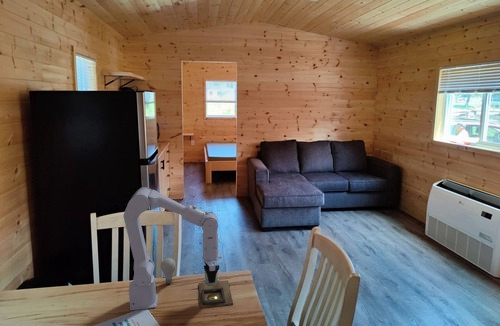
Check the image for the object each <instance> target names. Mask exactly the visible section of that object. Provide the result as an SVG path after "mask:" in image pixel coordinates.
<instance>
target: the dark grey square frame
mask: <svg viewBox="0 0 500 326" xmlns="http://www.w3.org/2000/svg"><path fill="white" fill-rule="evenodd" d="M212 292H221V293H222V298H223V299H219V295H217V294H210V295H208V301H205V297H204V293H212ZM202 301H203V305H209V304H219V303H225V295H224V290H223V288H213V289H203V290H202Z"/></svg>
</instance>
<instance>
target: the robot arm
mask: <svg viewBox="0 0 500 326" xmlns="http://www.w3.org/2000/svg"><path fill="white" fill-rule="evenodd" d="M149 208H150V210H154V209H157V208H162V209H165V210H167V211H170V212H172V213H175V214H178V215H180V216H181V217H182V220H184V221H186V222H188V223H190V224H193V225H195V226H197V227H201V229H202V237H201V238H202V260H203V262H204V264H205V265H203V269H204V272H205V271H206V273H207V277H208V281H209V283H215V279H216V274H217V273H218V272H219V270H220V265H219V264H217V263H218V261H219V259H222V257H223V256H222V254H221V253H219V233H218V230H219V229H218V228H219V223H218V222H219V221H218V216H217V215H216V213H213V211H207V210H206V211H205V210H202V209H200V208H198V207H197V205H196V204H193V205H191V204H188V205H184V204H181V203H180V202H178V201H176V200H174V199H172V198H170V197H169V196H166V195H164V194H162V193H160V192H159V191H157V190H156V189H151V188H150V187H148V186H143V187H140V188H139V189H137V190H136V191H135V193H134V194H132V197H131V198H130V200H129V201H128V203H127V206H126V208H125V210H124V212H123V219H124V224H125V228H126V232H127V238H128V241H129V245H130V249H131V253H132V257H133V260H134V261H133V272H134V274H133V278H132V279H133V281H130V282H129V286H128V296H129V310H130V311H134V310H135V311H136V310H145V309H155V308H157V306H158V298H159V294H157V291H156V290H157V289H156V277H155V276H154V271H155V269H156V265H155V262H154V261H153V260H152V259H151V255H150V254H148V250H147V249H148V248H147V244H146V240H145V237H144V232H143V227H142V223H141V218H140V215H141V214H143V213H145V212H146V211H147V210H148V209H149Z"/></svg>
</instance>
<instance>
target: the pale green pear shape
mask: <svg viewBox="0 0 500 326" xmlns="http://www.w3.org/2000/svg"><path fill="white" fill-rule="evenodd" d="M202 281H203V282H202V283H205V284H206V285H207V286H214V285H216V284H217V283H218V282H219V281H220V278H219V277H218V272H217V274H216V279H215V283H209V281H208V277H207V273H206V271H205V270H204V280H202Z"/></svg>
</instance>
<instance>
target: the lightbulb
mask: <svg viewBox="0 0 500 326" xmlns="http://www.w3.org/2000/svg"><path fill="white" fill-rule="evenodd" d="M176 267H177V264H176V260H174V259H173V258H171V257H169V258H164V259H163V260H162V261H161V263H160V270H161V271H162V273H163V274H164V278H165V282H166V284H169V285H170V284H172V283H173V277H174V275H173V274H174V273H175V271H176Z"/></svg>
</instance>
